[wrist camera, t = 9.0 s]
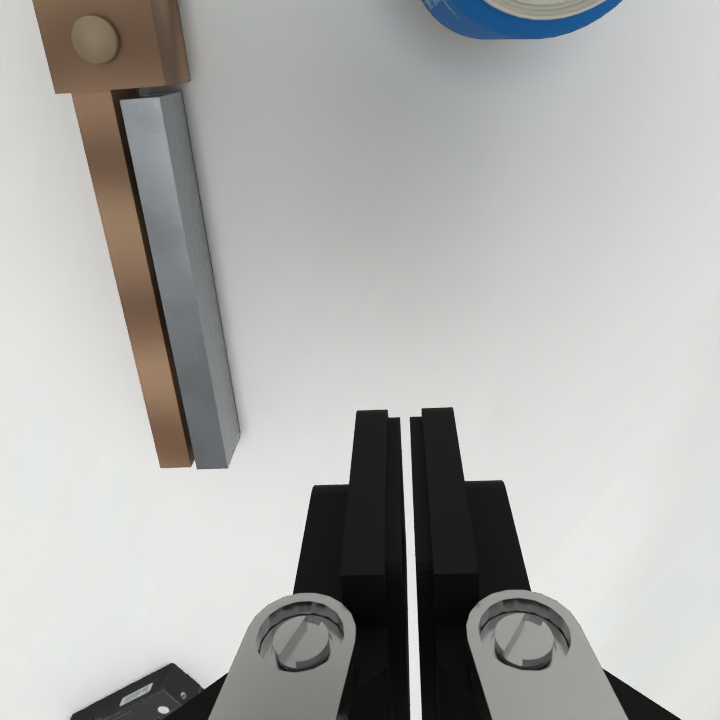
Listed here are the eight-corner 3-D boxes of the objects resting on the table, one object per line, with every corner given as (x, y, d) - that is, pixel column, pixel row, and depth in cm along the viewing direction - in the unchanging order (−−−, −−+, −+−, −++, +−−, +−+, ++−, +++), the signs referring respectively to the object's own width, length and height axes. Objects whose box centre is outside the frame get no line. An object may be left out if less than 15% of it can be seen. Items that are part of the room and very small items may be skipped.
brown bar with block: (71, -3, 27) (21, -10, 24) (175, -12, 27) (141, -20, 23) (170, 436, 37) (145, 481, 33) (248, 434, 36) (232, 478, 33)
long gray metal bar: (145, 94, 29) (119, 99, 26) (181, 91, 29) (158, 97, 26) (211, 437, 36) (197, 469, 34) (240, 436, 36) (227, 468, 34)
